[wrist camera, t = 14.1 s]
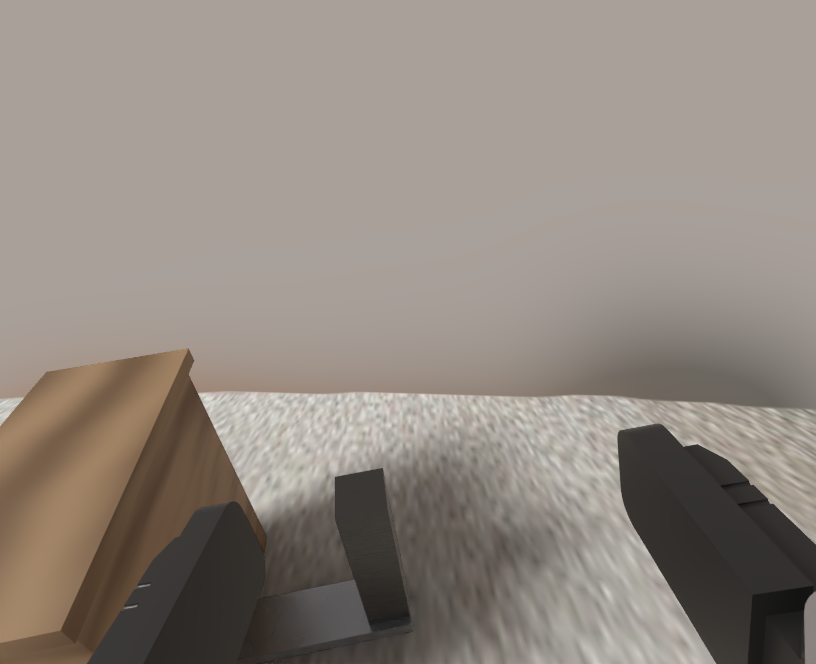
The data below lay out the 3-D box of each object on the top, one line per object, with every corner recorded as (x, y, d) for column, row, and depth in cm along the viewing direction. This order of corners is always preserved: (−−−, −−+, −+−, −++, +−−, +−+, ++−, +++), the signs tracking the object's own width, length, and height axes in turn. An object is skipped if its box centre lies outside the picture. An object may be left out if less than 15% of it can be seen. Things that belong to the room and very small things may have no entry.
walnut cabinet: (273, 523, 41) (191, 342, 30) (243, 788, 27) (60, 630, 15) (174, 542, 41) (51, 365, 29) (87, 825, 26) (-224, 688, 15)
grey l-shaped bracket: (405, 577, 36) (381, 461, 28) (412, 631, 33) (388, 517, 25) (139, 631, 35) (38, 525, 27) (118, 693, 31) (-3, 593, 24)
